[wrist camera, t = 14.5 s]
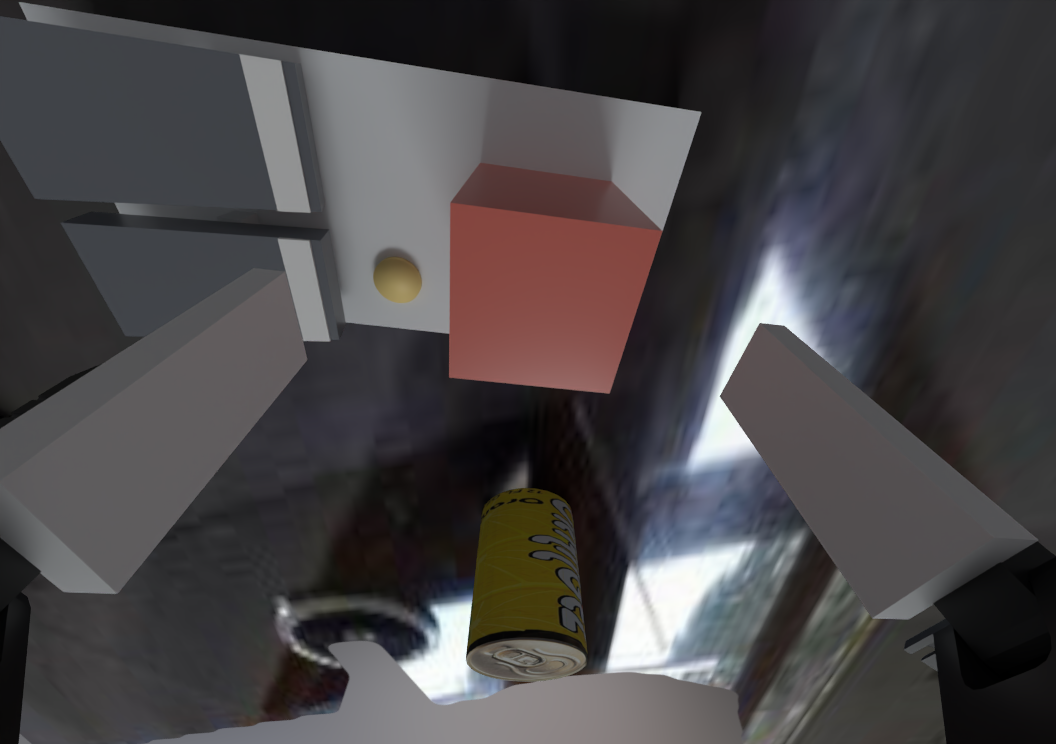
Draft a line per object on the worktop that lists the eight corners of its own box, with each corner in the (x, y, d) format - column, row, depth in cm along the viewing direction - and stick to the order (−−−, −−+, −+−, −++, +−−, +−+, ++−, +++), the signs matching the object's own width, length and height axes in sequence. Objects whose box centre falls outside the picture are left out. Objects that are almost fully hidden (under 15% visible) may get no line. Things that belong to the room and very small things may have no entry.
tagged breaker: (147, 319, 18) (123, 337, 17) (91, 211, 16) (57, 223, 14) (345, 324, 20) (338, 341, 19) (329, 229, 17) (319, 241, 16)
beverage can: (532, 550, 41) (534, 688, 32) (464, 520, 38) (442, 664, 28) (591, 512, 37) (613, 658, 28) (520, 475, 34) (517, 625, 24)
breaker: (62, 188, 14) (32, 199, 13) (-34, 11, 12) (-86, 2, 10) (325, 202, 17) (321, 213, 16) (301, 63, 14) (293, 62, 13)
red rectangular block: (474, 288, 20) (449, 377, 14) (480, 162, 17) (450, 202, 10) (583, 301, 21) (609, 393, 14) (611, 181, 17) (662, 231, 11)
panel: (200, 280, 23) (73, 351, 17) (94, 16, 16) (-194, -39, 10) (613, 327, 25) (643, 407, 19) (678, 110, 18) (761, 116, 12)
